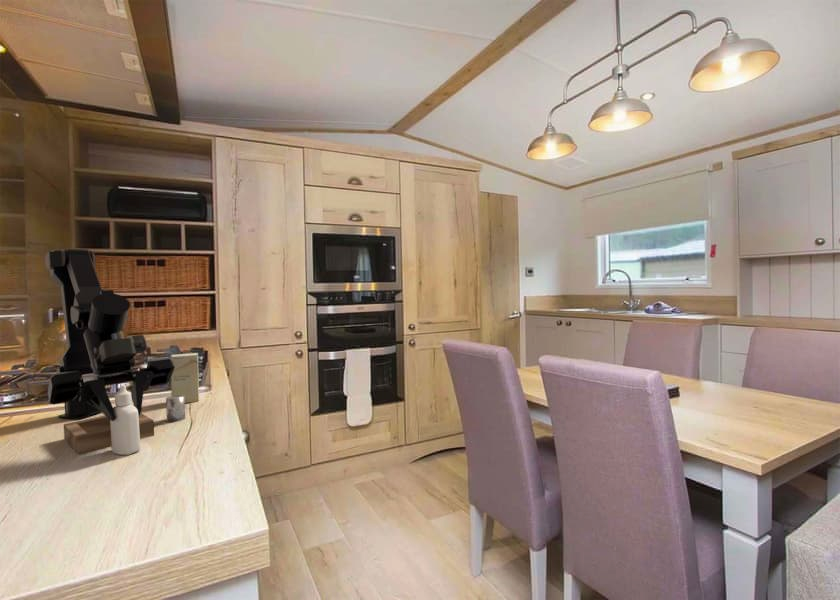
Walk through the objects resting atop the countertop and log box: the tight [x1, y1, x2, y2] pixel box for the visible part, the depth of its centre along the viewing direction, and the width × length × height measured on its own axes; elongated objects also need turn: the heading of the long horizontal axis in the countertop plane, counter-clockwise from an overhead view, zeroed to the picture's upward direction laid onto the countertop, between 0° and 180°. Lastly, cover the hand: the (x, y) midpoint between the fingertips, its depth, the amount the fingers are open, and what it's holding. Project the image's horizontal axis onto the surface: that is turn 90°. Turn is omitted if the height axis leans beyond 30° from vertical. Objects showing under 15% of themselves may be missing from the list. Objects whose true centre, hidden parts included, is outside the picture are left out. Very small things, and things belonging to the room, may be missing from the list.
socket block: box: [63, 412, 155, 455], centre depth 83 cm, size 12×12×3 cm
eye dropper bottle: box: [110, 384, 141, 456], centre depth 76 cm, size 4×6×12 cm
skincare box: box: [170, 352, 200, 404], centre depth 108 cm, size 6×4×12 cm
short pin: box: [165, 395, 186, 423], centre depth 93 cm, size 4×4×5 cm
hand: (126, 416), depth 75 cm, fingers closed on eye dropper bottle, 3 cm apart
